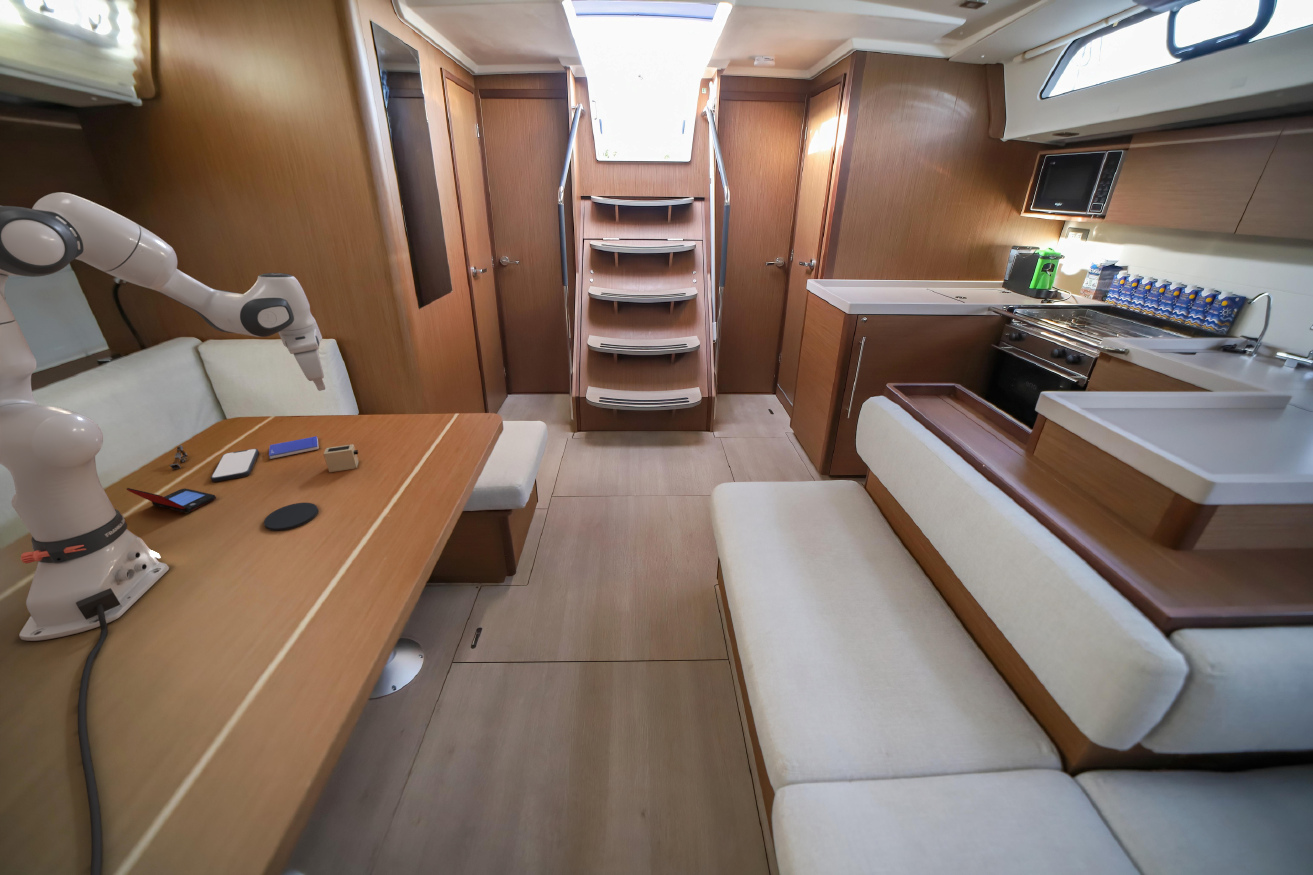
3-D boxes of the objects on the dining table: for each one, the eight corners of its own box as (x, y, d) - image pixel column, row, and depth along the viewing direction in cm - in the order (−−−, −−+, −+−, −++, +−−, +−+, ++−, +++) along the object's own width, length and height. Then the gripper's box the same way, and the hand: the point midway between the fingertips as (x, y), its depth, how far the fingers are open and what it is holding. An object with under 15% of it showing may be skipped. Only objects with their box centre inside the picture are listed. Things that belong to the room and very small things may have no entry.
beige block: (360, 467, 145) (355, 449, 143) (329, 472, 143) (323, 453, 140) (362, 461, 149) (356, 443, 146) (331, 466, 146) (325, 447, 144)
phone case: (250, 476, 141) (260, 452, 153) (248, 471, 140) (258, 447, 153) (211, 484, 137) (224, 458, 150) (208, 479, 136) (222, 453, 149)
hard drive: (268, 455, 149) (317, 445, 155) (269, 444, 155) (316, 435, 161) (270, 459, 149) (318, 449, 155) (271, 449, 155) (317, 439, 162)
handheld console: (219, 498, 130) (208, 474, 127) (172, 522, 121) (159, 496, 118) (185, 490, 133) (173, 466, 130) (137, 512, 124) (123, 487, 121)
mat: (313, 525, 120) (312, 522, 120) (258, 535, 117) (257, 532, 116) (322, 501, 129) (321, 499, 129) (271, 510, 126) (270, 507, 125)
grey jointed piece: (191, 452, 151) (182, 443, 147) (185, 473, 146) (177, 463, 143) (183, 453, 150) (175, 444, 147) (177, 474, 146) (169, 465, 142)
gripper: (285, 326, 137) (305, 372, 144) (288, 350, 122) (309, 400, 130) (312, 322, 140) (330, 367, 147) (317, 344, 125) (337, 393, 133)
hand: (320, 383), depth 138 cm, fingers open, 8 cm apart
